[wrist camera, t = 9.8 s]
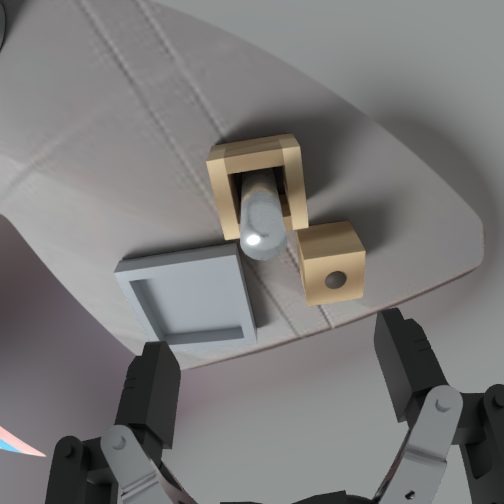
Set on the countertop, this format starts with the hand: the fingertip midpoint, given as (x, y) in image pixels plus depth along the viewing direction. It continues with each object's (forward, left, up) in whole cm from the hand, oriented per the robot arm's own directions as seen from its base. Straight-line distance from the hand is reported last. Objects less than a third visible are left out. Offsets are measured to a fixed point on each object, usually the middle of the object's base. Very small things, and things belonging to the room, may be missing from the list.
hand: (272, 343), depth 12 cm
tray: (+12, -9, -17) cm, 23 cm away
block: (+8, +5, -17) cm, 20 cm away
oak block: (0, 0, -17) cm, 17 cm away
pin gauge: (0, 0, -17) cm, 17 cm away
